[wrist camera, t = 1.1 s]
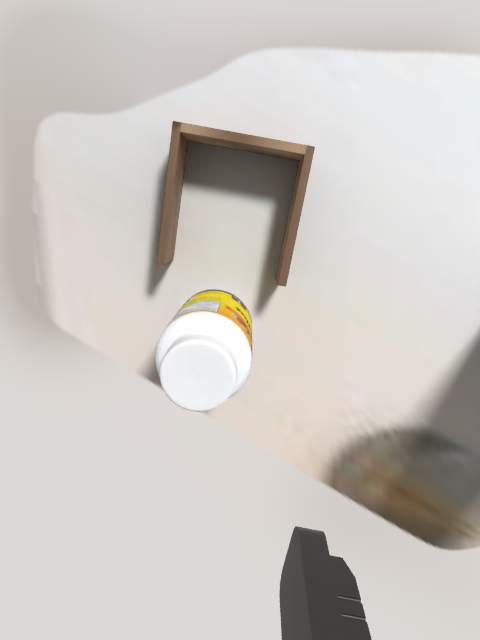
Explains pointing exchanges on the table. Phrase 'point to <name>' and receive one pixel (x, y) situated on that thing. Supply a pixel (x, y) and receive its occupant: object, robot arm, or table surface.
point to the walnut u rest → (240, 142)
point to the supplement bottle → (205, 351)
